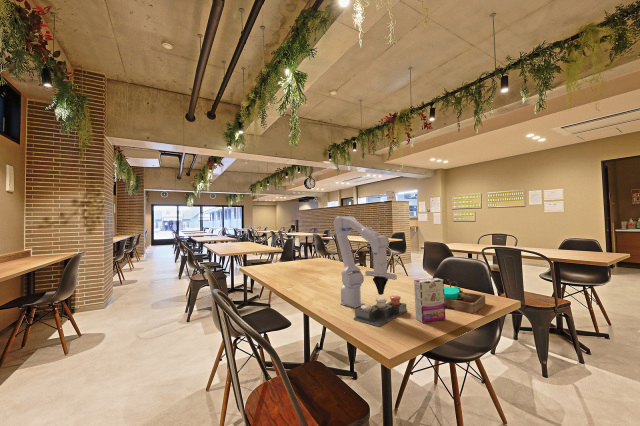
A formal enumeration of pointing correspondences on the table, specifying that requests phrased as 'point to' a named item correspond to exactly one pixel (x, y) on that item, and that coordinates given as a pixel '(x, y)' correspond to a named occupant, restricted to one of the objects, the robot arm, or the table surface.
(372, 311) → the panel
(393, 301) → the plug red
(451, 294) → the contraption on wooden base
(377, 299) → the plug cream mid
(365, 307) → the cream mushroom knob
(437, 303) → the candy bar box
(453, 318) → the table surface
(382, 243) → the robot arm
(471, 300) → the brown wooden tray
